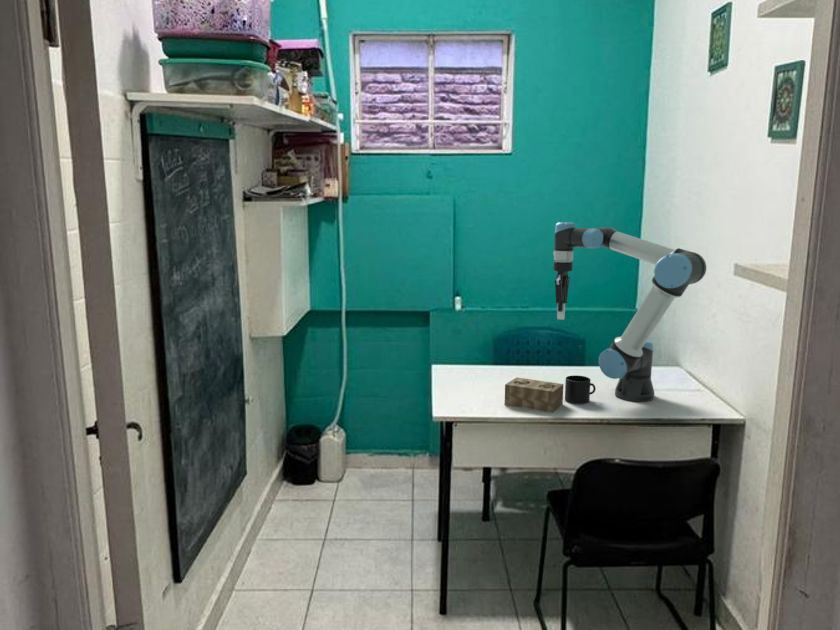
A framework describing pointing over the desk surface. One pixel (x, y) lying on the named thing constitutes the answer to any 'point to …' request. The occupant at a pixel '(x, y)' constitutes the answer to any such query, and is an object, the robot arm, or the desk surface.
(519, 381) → the peg
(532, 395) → the walnut block
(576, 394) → the mug
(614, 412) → the desk surface
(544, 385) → the peg
